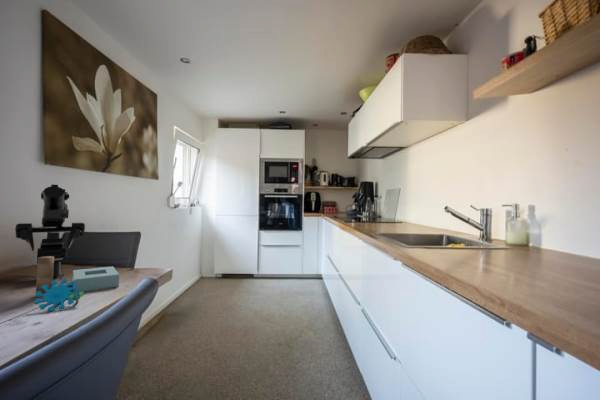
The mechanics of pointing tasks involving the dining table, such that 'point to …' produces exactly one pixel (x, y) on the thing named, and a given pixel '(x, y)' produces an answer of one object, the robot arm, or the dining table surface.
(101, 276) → the housing
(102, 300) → the dining table surface
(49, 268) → the peg
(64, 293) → the gear
